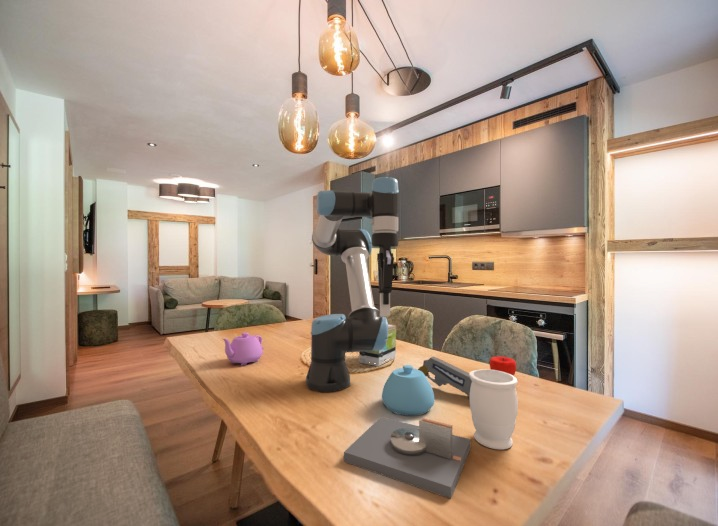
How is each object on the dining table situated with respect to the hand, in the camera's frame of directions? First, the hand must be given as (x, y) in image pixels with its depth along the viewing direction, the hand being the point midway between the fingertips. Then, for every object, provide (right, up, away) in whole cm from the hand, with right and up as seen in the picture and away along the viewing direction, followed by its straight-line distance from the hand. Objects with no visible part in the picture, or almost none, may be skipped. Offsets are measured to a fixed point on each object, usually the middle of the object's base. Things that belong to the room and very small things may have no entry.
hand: (385, 315), depth 93 cm
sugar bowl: (+7, -27, +2) cm, 28 cm away
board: (+3, -26, -23) cm, 35 cm away
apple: (+44, -27, +23) cm, 56 cm away
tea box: (+1, -27, +46) cm, 54 cm away
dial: (+6, -24, -24) cm, 34 cm away
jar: (+24, -27, -17) cm, 39 cm away
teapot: (-56, -27, +44) cm, 76 cm away
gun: (+22, -27, +12) cm, 37 cm away
